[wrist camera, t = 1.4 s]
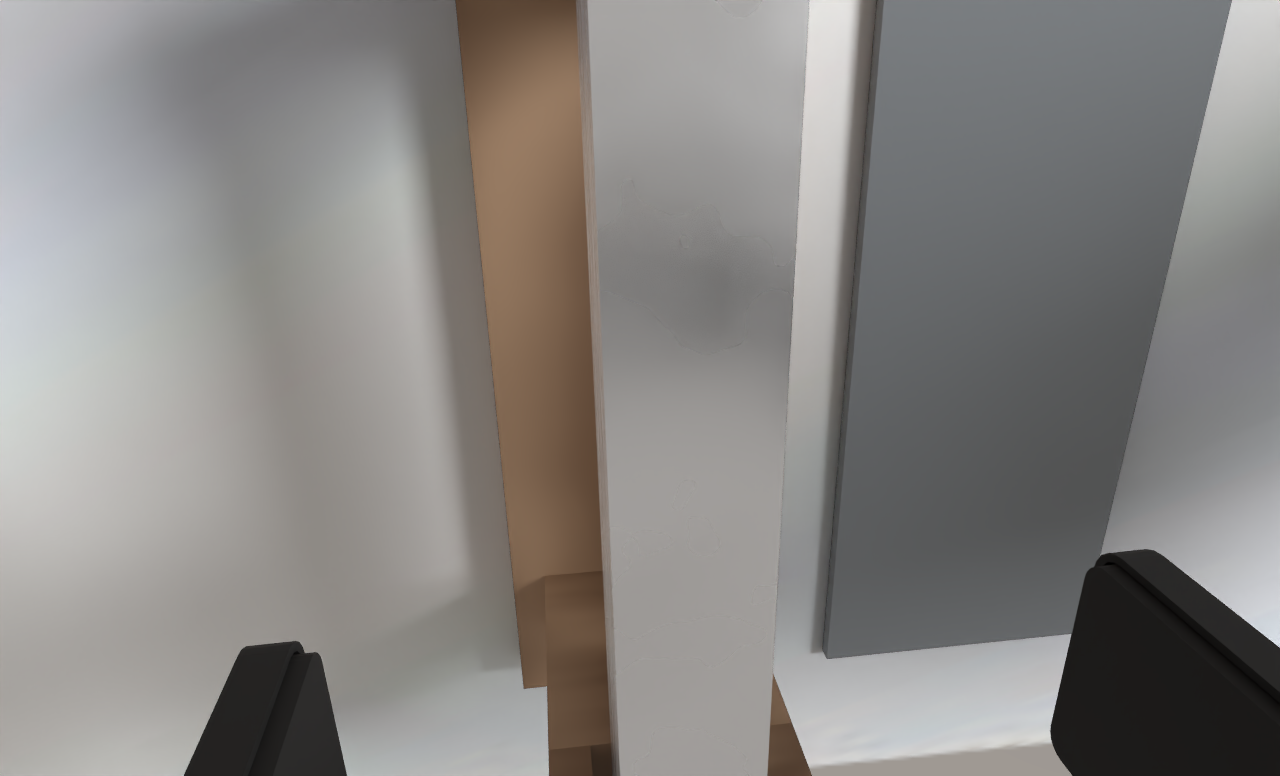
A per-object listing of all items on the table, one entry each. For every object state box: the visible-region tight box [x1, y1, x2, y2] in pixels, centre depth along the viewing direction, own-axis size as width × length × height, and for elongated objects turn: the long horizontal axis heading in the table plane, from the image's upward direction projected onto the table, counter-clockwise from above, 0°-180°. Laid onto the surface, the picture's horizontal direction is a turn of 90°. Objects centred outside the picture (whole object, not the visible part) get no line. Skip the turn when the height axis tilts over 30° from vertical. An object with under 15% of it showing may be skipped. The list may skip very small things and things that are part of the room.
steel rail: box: [576, 0, 809, 776], centre depth 15 cm, size 3×24×3 cm, turn 1°
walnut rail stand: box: [455, 0, 812, 776], centre depth 19 cm, size 8×26×11 cm, turn 1°
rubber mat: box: [823, 0, 1232, 659], centre depth 25 cm, size 10×28×1 cm, turn 1°
